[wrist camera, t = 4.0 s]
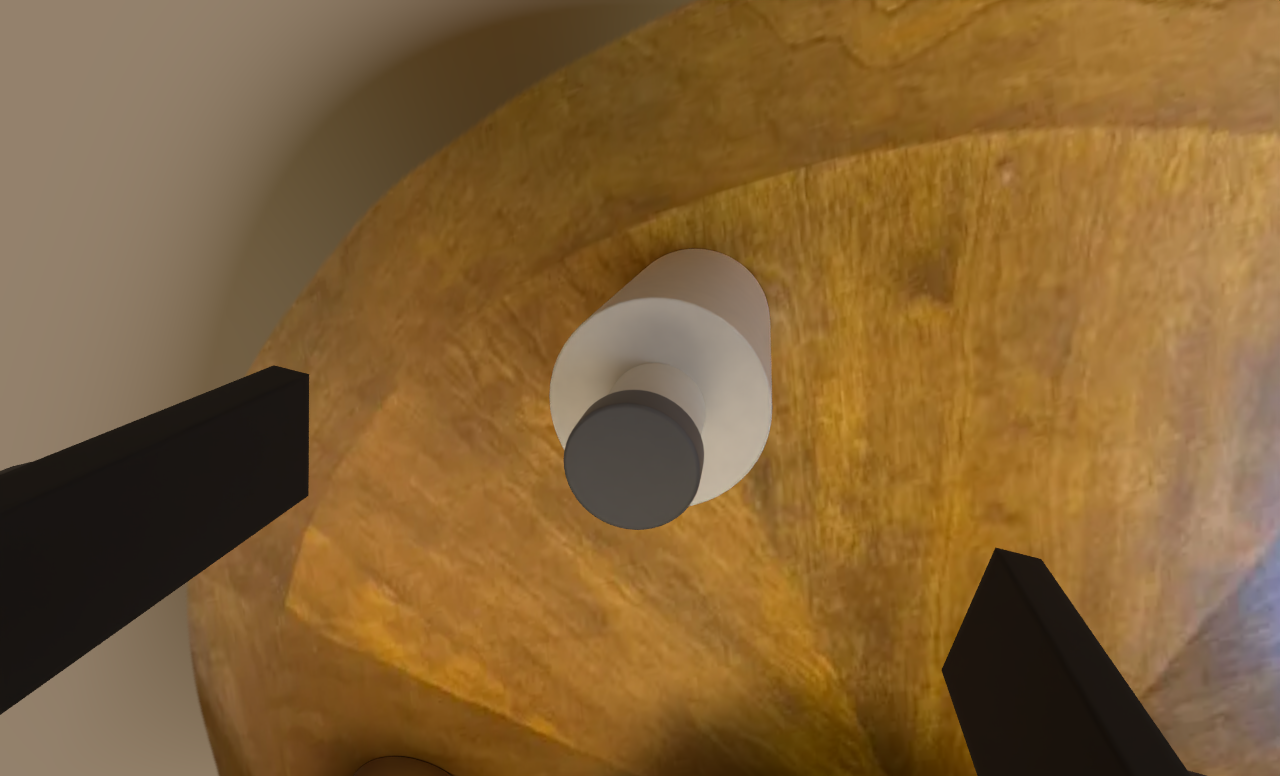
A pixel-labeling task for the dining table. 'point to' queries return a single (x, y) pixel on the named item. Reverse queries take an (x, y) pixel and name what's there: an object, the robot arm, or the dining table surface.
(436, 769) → the metal canister
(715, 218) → the dining table surface
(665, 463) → the bottle
